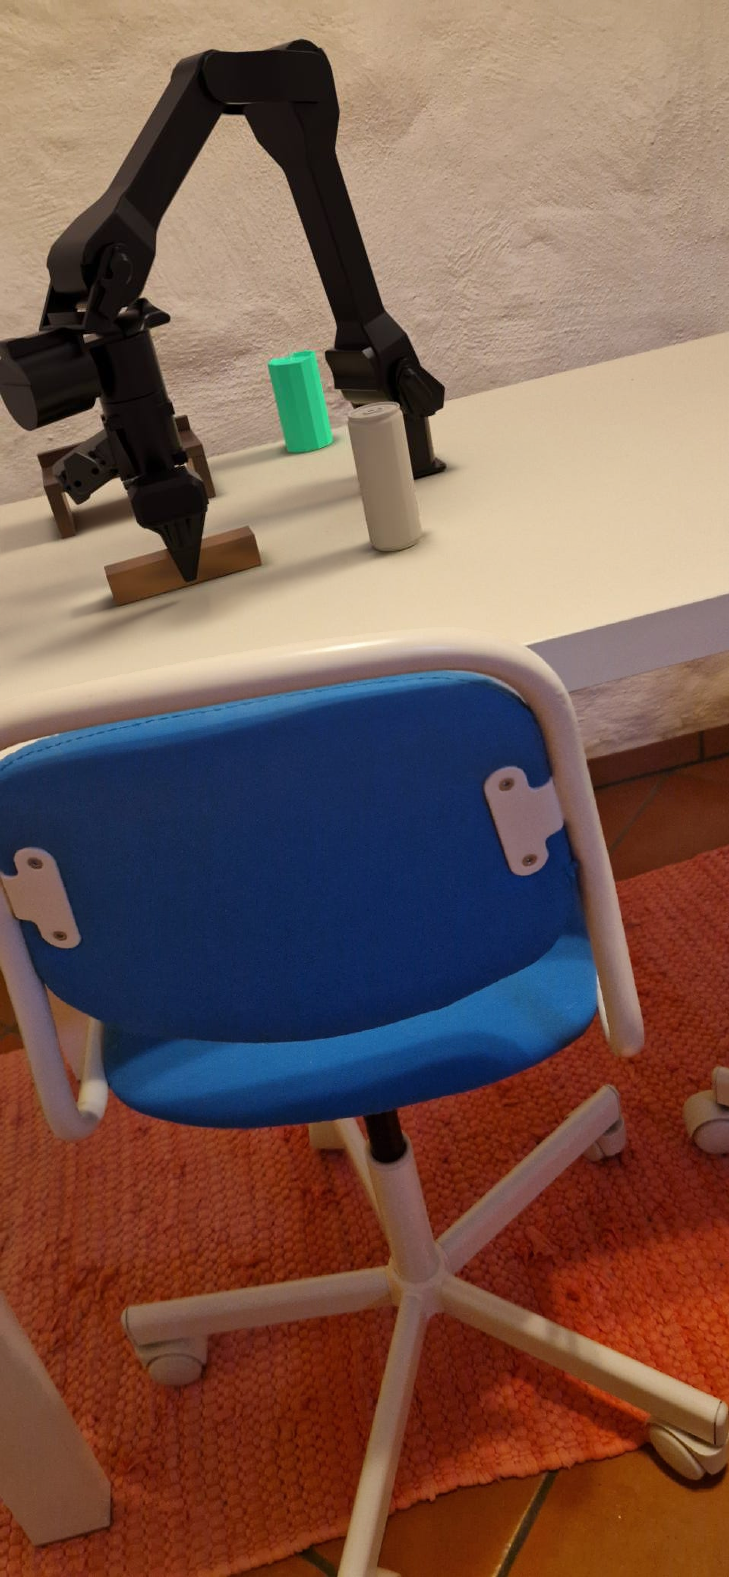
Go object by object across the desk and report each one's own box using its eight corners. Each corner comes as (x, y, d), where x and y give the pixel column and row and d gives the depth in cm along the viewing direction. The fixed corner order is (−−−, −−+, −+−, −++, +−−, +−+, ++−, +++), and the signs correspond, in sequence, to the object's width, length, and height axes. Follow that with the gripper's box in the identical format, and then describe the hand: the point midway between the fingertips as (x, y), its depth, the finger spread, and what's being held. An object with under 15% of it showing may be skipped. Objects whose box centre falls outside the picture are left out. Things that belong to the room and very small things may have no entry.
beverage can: (368, 539, 99) (343, 409, 93) (419, 529, 99) (397, 397, 93) (373, 557, 95) (347, 422, 89) (426, 546, 95) (404, 409, 89)
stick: (256, 555, 102) (248, 525, 100) (262, 564, 99) (254, 533, 98) (113, 596, 100) (103, 566, 98) (116, 606, 97) (106, 576, 96)
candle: (335, 434, 134) (315, 334, 128) (330, 447, 129) (309, 344, 123) (290, 442, 135) (267, 343, 129) (282, 455, 131) (259, 354, 124)
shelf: (216, 496, 121) (198, 430, 117) (61, 538, 119) (38, 472, 115) (203, 476, 130) (186, 414, 126) (58, 515, 127) (36, 453, 123)
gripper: (37, 399, 97) (92, 560, 105) (42, 440, 81) (106, 624, 90) (155, 369, 99) (200, 529, 107) (182, 403, 83) (233, 588, 91)
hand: (183, 565), depth 99 cm, fingers open, 9 cm apart
